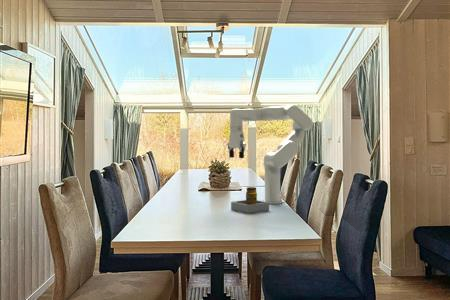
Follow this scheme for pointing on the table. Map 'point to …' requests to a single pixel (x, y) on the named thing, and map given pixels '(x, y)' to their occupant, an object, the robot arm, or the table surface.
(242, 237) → the table surface
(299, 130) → the robot arm
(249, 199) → the condiment
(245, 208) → the box
